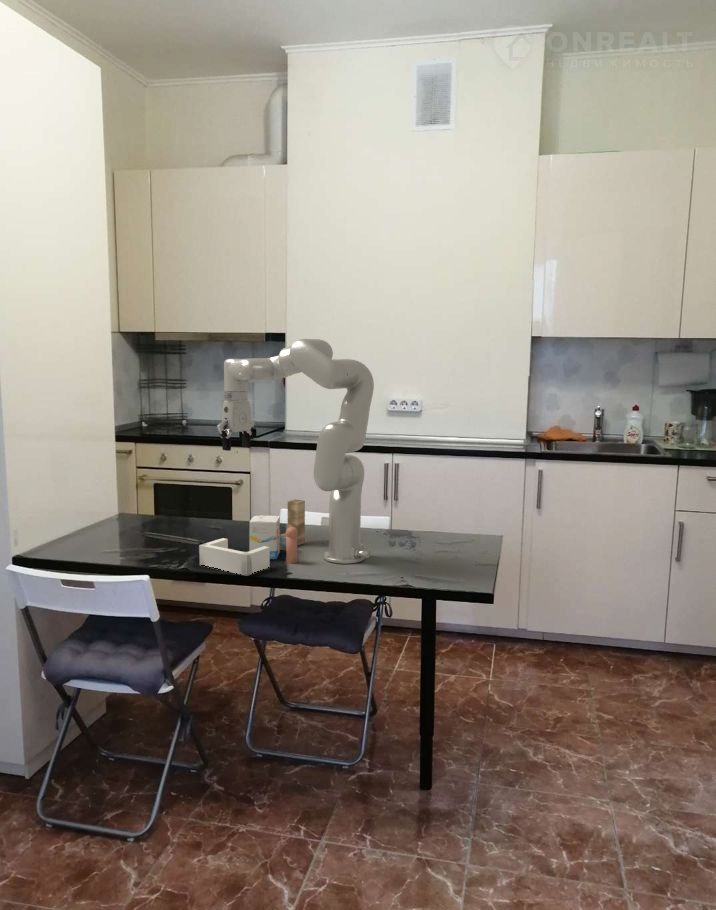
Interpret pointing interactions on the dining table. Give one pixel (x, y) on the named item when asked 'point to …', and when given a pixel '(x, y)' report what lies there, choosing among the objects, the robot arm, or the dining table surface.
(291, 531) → the figure left
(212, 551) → the frame
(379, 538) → the dining table surface
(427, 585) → the dining table surface
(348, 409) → the robot arm
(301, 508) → the kicker
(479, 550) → the dining table surface
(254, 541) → the ink box
